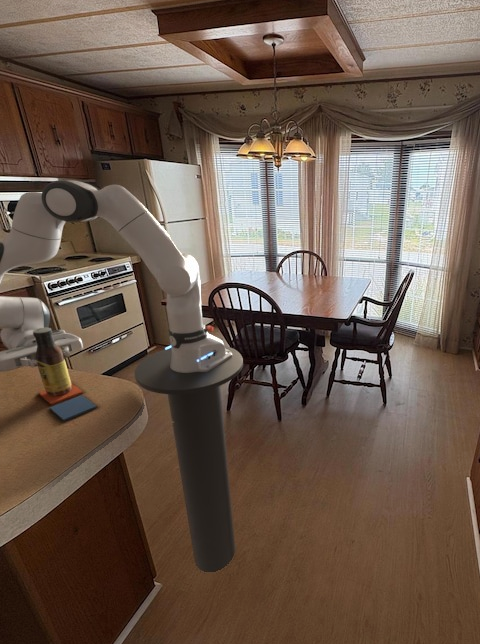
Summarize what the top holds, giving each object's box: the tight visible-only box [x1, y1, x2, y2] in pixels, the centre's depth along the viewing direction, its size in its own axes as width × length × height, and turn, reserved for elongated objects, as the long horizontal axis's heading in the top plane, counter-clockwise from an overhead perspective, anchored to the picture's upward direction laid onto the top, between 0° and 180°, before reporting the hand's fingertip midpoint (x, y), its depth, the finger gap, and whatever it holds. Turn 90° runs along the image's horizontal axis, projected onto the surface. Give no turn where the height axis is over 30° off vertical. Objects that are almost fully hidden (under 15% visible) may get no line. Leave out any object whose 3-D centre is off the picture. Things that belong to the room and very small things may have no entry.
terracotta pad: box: [38, 382, 84, 406], centre depth 101 cm, size 8×9×1 cm
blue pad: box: [49, 394, 98, 422], centre depth 94 cm, size 8×9×1 cm
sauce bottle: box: [33, 327, 72, 396], centre depth 97 cm, size 7×6×20 cm
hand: (51, 359), depth 96 cm, fingers closed on sauce bottle, 6 cm apart
